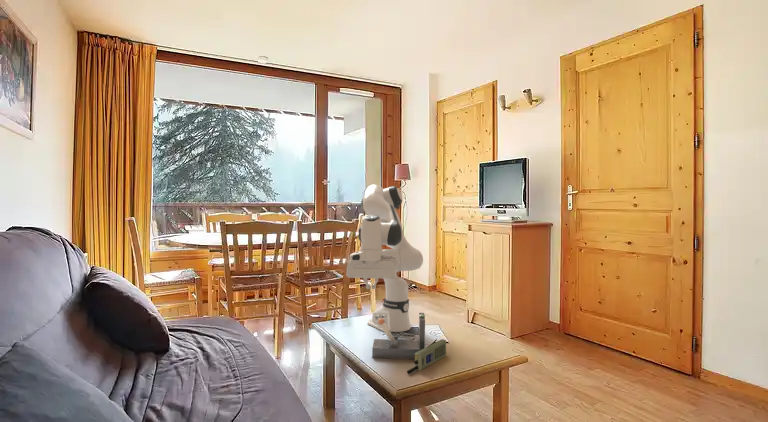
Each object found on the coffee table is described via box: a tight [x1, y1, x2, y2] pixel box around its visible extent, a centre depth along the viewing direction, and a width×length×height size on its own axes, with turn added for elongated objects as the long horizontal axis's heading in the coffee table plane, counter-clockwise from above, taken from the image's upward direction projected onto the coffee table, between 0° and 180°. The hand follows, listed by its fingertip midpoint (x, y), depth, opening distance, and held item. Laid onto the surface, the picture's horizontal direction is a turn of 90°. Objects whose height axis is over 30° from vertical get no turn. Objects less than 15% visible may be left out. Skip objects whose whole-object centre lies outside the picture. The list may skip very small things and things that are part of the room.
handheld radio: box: [406, 338, 447, 375], centre depth 158 cm, size 7×3×25 cm
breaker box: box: [371, 312, 426, 360], centre depth 168 cm, size 21×10×17 cm, turn 87°
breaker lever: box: [378, 318, 395, 343], centre depth 168 cm, size 3×3×12 cm
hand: (370, 288), depth 167 cm, fingers closed
